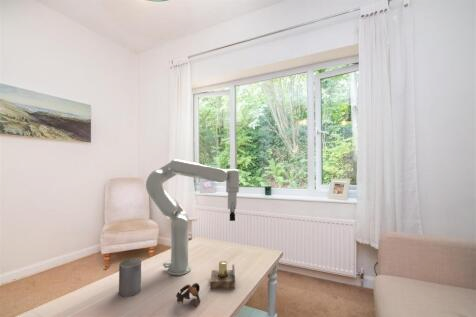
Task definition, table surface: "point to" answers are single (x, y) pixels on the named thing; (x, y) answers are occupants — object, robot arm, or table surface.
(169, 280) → the table surface
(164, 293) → the table surface
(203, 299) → the table surface
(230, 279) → the jig
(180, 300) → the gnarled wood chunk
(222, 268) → the gold cylinder
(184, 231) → the robot arm
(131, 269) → the pillar candle
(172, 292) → the table surface
